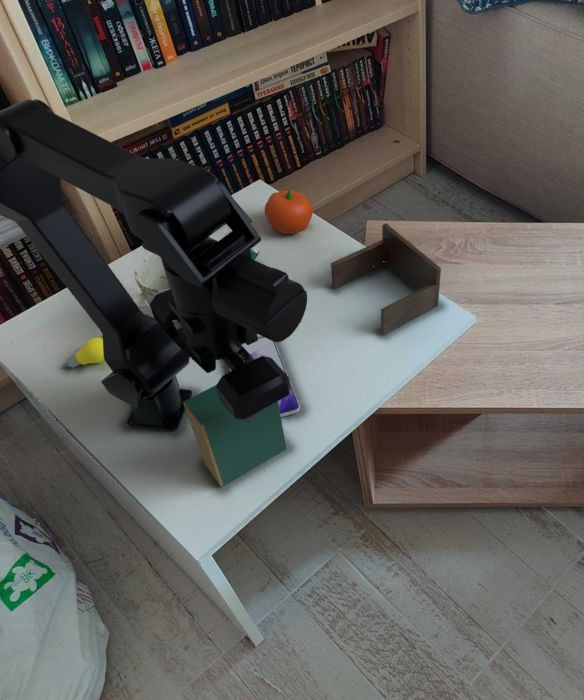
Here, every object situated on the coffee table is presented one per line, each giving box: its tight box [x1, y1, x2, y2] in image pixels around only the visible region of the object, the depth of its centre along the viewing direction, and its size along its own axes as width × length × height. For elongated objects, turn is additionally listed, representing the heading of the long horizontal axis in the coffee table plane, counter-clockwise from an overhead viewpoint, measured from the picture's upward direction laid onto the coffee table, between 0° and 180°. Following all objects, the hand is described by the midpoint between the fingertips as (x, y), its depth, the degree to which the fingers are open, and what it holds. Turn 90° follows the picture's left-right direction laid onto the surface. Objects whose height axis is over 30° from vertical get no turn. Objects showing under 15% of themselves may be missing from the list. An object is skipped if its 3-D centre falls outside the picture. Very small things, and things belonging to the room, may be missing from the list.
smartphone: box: [228, 336, 301, 418], centre depth 93 cm, size 7×1×15 cm
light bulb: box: [66, 336, 106, 369], centre depth 92 cm, size 3×6×4 cm
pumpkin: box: [264, 189, 314, 235], centre depth 114 cm, size 8×8×7 cm
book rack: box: [330, 223, 442, 336], centre depth 105 cm, size 11×14×8 cm
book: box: [183, 384, 287, 488], centre depth 81 cm, size 9×4×13 cm, turn 132°
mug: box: [132, 253, 170, 307], centre depth 95 cm, size 8×13×10 cm, turn 146°
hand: (231, 395), depth 76 cm, fingers open, 9 cm apart
